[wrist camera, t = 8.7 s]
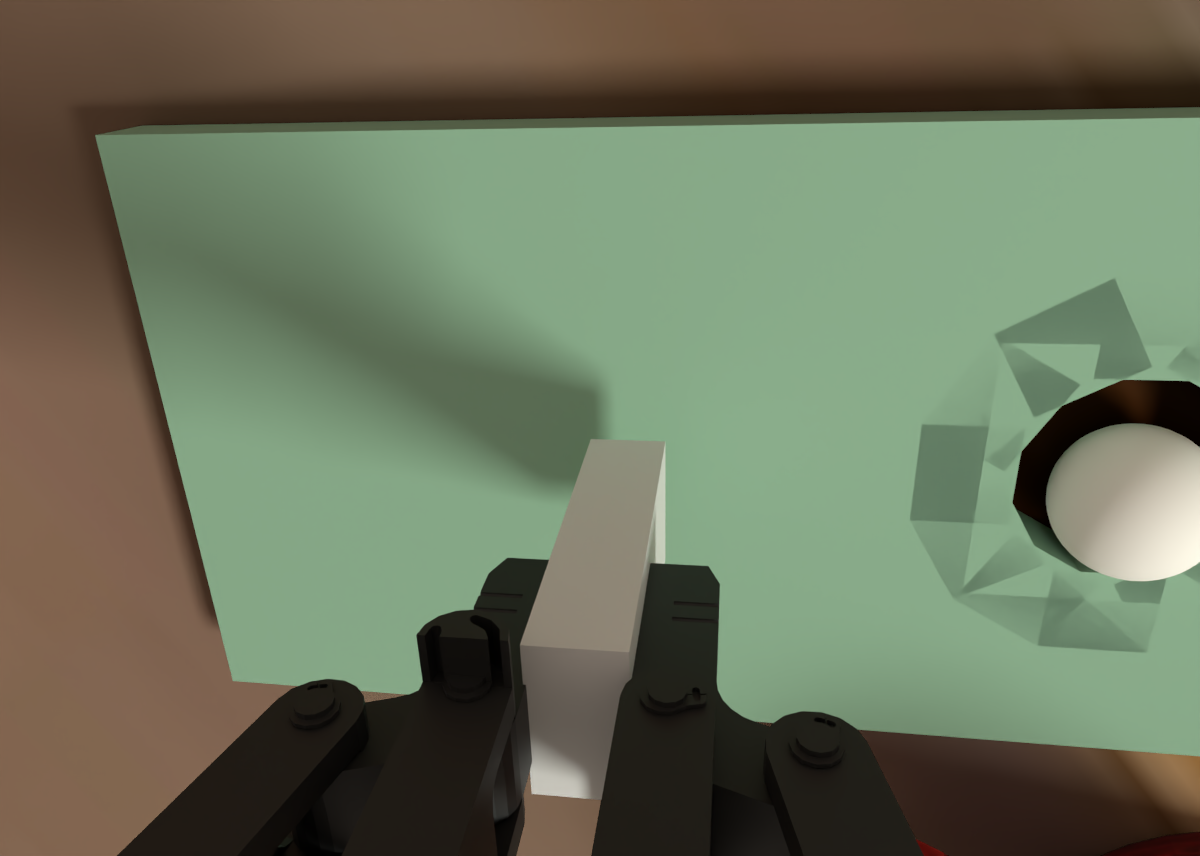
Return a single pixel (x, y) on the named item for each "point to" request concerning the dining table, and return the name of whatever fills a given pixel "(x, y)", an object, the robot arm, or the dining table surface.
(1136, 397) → the dining table surface
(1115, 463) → the ball
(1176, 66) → the dining table surface
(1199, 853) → the mug
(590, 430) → the board with hole
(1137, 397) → the dining table surface
